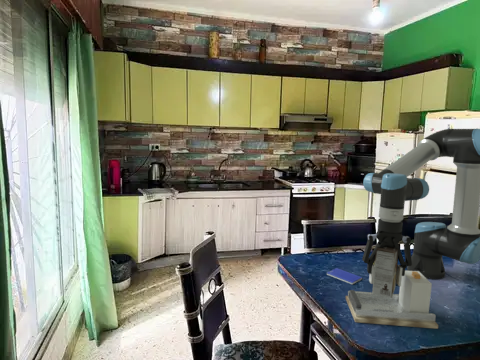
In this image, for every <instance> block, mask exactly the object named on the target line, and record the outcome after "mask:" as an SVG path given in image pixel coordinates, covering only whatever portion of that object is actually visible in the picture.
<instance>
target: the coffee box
mask: <svg viewBox="0 0 480 360" xmlns="http://www.w3.org/2000/svg"><path fill="white" fill-rule="evenodd" d="M398 262H399V260H398V249H396V248H395V247H384V248H379V247H377V248H376V256H375V268H374V280H373V284H372V293H373V294H377V295H381V296H385V297H388V298H392V296H393V294H395V290H396V286H397V283H396V275H397V265H399V264H398Z"/></svg>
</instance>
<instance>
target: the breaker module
mask: <svg viewBox="0 0 480 360" xmlns="http://www.w3.org/2000/svg"><path fill="white" fill-rule="evenodd" d="M432 285H433V284H432V282H430V281H429V279H428V278H425V277H424V276H423V275H422V274H421V273H420V272H419V271H408V270H405V275H404V276H402V279H401V286H399V292H398V294H399V301H398V302H399V303H400V305H401V306H402V307H403V309H404V310H405V311H407V312H420V313H430V303H431V294H432Z"/></svg>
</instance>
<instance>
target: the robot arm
mask: <svg viewBox="0 0 480 360" xmlns="http://www.w3.org/2000/svg"><path fill="white" fill-rule="evenodd" d="M442 157H443V158H444V157H447V158H452V159H453V160H452V163H453V164H454V165H455V167H456V174H455V186H454V193H453V194H454V196H453V197H454V198H453V207H452V217H451V218H452V219H451V223H450V224H449V225H446V224H445V223H443V222H438V221H437V222H435V221H434V222H433V221H422V222H418V223H417V224H416V225H415V229H414V239H413V247H412V252H411V242H412V238H411V237H410V236H408V235H402V232H403V225H404V224H403V220H404V211H405V202H408V201H419V200H422V199H425V198H426V197H427V196H428V195H429V193H430V185H429V184H428V181H426V180H425V179H423V178H419V177H413V178H410V177H409V176H410V175H412V174H413V173H414V172H415V173H416V171H417V170H418V169H420V168H421V167H423V166H424V165H426V164H427V163H429V162H430V161H434V160H436V159H438V158H442ZM363 188H364V190H365V191H366V192H368V193H369V192H370V193H373V194H376V195H380V199H379V201H380V202H379V209H378V210H379V212H378V217H379V218H378V220H377V232H376V233H375V234H370V233H368V234H367V235H366V237H367V241H366V245H365V248H364V252H363V255H362V259H361V260H362V261H363V263H365V264H367V265H366V267H367V268H366V271H367V273H368V274H369V278H368V282H369V283H370V284H371V285H373V280H374V268H375V265H374V264H373V263H374V261H375V256H376V248H377V247H379V248H384V247H395V248H396V249H398V262H399V264H397V275H396V286H397V287H400V286H401V279H402V276H404V275H405V271H419V272H420V273H421V274H422V275H423V276H424V277H425V278H426V279H427V280H441V279H444V278H446V269H445V265H444V260H443V257H447V258H450V259H452V260H455V261H459V262H460V263H466V264H468V265H474V264H477V263H478V262H479V261H480V229H479V228H478V219H479V218H478V217H479V211H480V209H479V208H480V128H478V127H477V128H445V129H442V130H438V131H436V132H434V133H432V134H429V135H428V136H426V137H424V138H423V139H420V141H418V143H417V145H416V147H414V148H412V149H411V150H410V151H408V152H407V153H406V154H404V155H402V156H401V157H398V159H396V160H395V161H394V162H393V163H391V164H390V165H388V166H387V167H385V168H384V169H382V170H381V171H379V172H378V173H377V172H370V173H367V174H366V175H365V176H364V178H363ZM376 239H377V243H376V246H375V247H374V249H373V250H372V248H373V245H374V242H375V240H376ZM401 241H402V242H403V252H404V256H403V254H402V251H401V249H400V248H401V247H400V244H399V243H400V242H401ZM371 251H372V253H371Z"/></svg>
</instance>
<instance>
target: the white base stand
mask: <svg viewBox="0 0 480 360" xmlns="http://www.w3.org/2000/svg"><path fill="white" fill-rule="evenodd" d="M347 296H348V299H349V301H350V304H351V306H352V308H353V311H354V313H355V315H356V317H366V318H378V319H391V320H404V321H417V322H429V323H435V322H436V318H437V317H436V314H435V313H431V312H429V313H420V312H407V311H405V310H404V309H403V307H402V306H401V305H400V303H399V302H398V301H399V293H393V296H392V298H388V297H385V296H381V295H377V294H373V293H372V292H371V291H370V292H368V291H356V290H355V289H349V290H348V291H347Z"/></svg>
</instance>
